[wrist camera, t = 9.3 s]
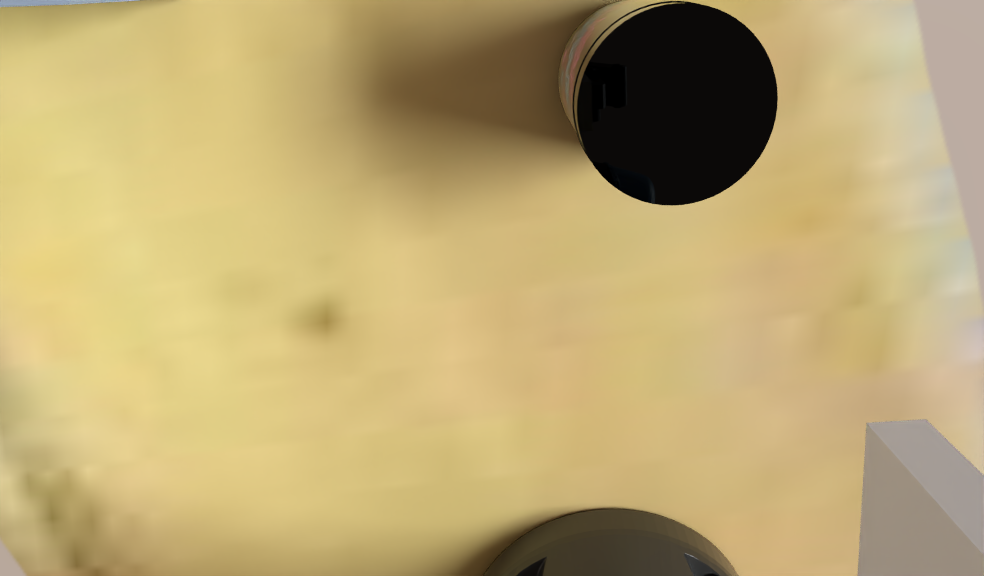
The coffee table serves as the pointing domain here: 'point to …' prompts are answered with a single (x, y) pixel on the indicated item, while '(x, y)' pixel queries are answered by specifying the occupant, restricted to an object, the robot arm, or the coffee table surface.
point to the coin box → (50, 2)
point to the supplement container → (668, 98)
